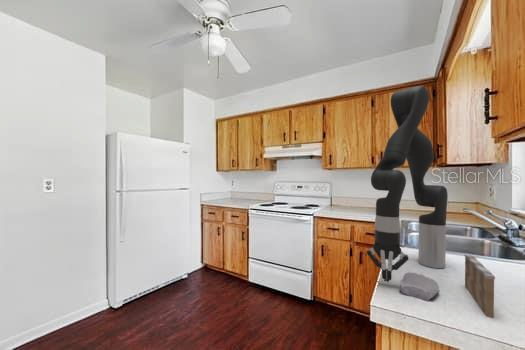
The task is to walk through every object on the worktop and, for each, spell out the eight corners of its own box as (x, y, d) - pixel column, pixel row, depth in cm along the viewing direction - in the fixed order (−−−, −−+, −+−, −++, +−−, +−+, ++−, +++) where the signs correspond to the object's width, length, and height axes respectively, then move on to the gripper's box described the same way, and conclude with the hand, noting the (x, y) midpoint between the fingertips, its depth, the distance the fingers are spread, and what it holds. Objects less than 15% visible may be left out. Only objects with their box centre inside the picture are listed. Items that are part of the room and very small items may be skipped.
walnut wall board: (464, 285, 80) (464, 253, 80) (471, 286, 79) (471, 254, 79) (485, 315, 63) (485, 275, 63) (494, 317, 62) (494, 276, 62)
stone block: (437, 294, 78) (403, 280, 84) (441, 281, 77) (406, 267, 83) (435, 312, 68) (396, 294, 75) (439, 297, 68) (400, 280, 74)
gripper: (409, 229, 80) (408, 280, 80) (366, 225, 86) (366, 272, 86) (411, 234, 73) (410, 289, 73) (364, 228, 80) (364, 280, 80)
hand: (386, 280), depth 80 cm, fingers closed
